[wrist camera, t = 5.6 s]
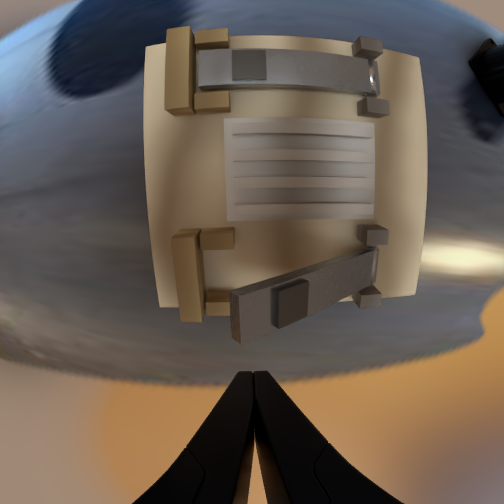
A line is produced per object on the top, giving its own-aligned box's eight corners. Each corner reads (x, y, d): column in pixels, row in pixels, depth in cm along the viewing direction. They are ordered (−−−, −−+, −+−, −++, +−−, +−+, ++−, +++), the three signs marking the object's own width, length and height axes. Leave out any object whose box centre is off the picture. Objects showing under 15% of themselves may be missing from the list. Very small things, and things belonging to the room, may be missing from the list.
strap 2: (369, 243, 19) (383, 247, 18) (365, 280, 20) (378, 285, 19) (227, 287, 13) (242, 295, 12) (231, 339, 14) (245, 350, 13)
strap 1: (371, 62, 16) (378, 57, 14) (375, 98, 16) (382, 95, 15) (200, 53, 15) (198, 46, 14) (200, 91, 16) (197, 87, 15)
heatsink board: (412, 60, 16) (439, 46, 13) (409, 289, 22) (433, 310, 18) (150, 51, 16) (131, 30, 12) (163, 301, 22) (148, 327, 18)
